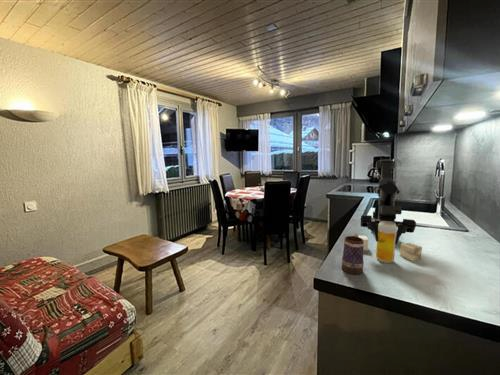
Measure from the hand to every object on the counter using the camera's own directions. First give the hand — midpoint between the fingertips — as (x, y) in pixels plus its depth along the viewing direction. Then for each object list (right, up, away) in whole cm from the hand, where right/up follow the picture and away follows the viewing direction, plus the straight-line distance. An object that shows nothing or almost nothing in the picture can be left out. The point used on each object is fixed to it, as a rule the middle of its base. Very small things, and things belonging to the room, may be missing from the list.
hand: (386, 242), depth 88 cm
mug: (-15, -8, -5) cm, 18 cm away
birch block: (+12, -7, +5) cm, 15 cm away
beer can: (+1, -8, +2) cm, 8 cm away
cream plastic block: (-3, -6, +14) cm, 16 cm away
